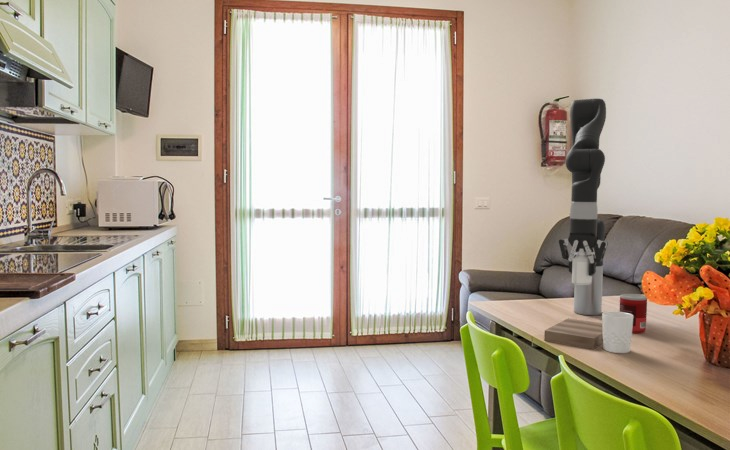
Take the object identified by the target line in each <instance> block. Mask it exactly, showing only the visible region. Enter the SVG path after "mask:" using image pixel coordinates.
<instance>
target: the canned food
mask: <svg viewBox="0 0 730 450" xmlns="http://www.w3.org/2000/svg"><path fill="white" fill-rule="evenodd" d="M646 297H647V296H646V295H644V294H640V293H621V294H620V297H619V312H625V313H629V314H632V315H633V328H632V334H643V333H645V332H646V329H647V316H648V315H647V314H648V313H647V311H648V308H647V307H648V297H647V298H646Z"/></svg>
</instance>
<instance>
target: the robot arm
mask: <svg viewBox="0 0 730 450" xmlns="http://www.w3.org/2000/svg"><path fill="white" fill-rule="evenodd" d="M606 106H607V105H606V101H605V100H604V99H602V98H587V99H586V98H585V99H583V98H582V99H575V100H572V102H571V104H570V108H569V109H570V110H569V117H570V118H569V119H570V134H571V148H570V150H568V153H567V154H566V158H565V167H566V169H567V171H569V172H570V173H571V195H570V196H571V199H570V200H571V202H570V207H569V235H568V237H567V238H561V239H559V240H558V245H559V248H560V253H561V258H562V259H563V260H566V261H568V273H570V274H571V275H572V261H573V258H575V257H577V256H578V252H579V250H580V249H584V252H586V253H587V255H586V256H587V257H589V260H590V263H589V276H592V283H591V284H589V285H575V284H574V291H573V293H574V297H573V312H574V313H576V314H578V315H579V314H580V315H585V316H599V315H602V308H603V307H602V305H603V304H602V303H603V274H604V273H603V272H604V257H605V254H606V251H607V248H608V245H609V243H608V241H606V240H605V235H606V226H605V223H604V221H603V220H601V219H598V189H599V188H600V185H601V180H602V179H601V174H602V171H603V168H604V166H605V162H606V155H605V153H604V152H603V150H602V149H600V148H599V147H600V137H601V134H602V131H603V129H604V126H605V122H606V118H607V107H606ZM569 244H570V246H571V250H570V253H569V250H568V249H569V248H568V246H569Z"/></svg>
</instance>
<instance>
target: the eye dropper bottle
mask: <svg viewBox="0 0 730 450" xmlns="http://www.w3.org/2000/svg"><path fill="white" fill-rule="evenodd" d="M586 255H587V253H586V252H584V249H580V250H579V252H578V254H577V256H576V257H575V258H573V261H572V274H571V284H573V285H574V286H575V285H589V284H591V283H592V276H589V263H590V260H589V257H587V256H586Z"/></svg>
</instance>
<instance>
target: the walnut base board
mask: <svg viewBox="0 0 730 450" xmlns="http://www.w3.org/2000/svg"><path fill="white" fill-rule="evenodd" d="M543 334H544V337H543V341H545V342H550V343H551V342H552V343H556V344H563V345H568V346H574V347H580V348H584V349H592V350H594V349H597V347H598V346H600V345H603V333H602V322H598V321H589V320H584V319H583V320H582V319H577V318H576V319H575V318H569V317H568V318H566V319H564V320H561V321H560V322H558V323H556V324H554V325H553V326H551V327H549V328H546V329H545V330H544V333H543Z"/></svg>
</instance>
